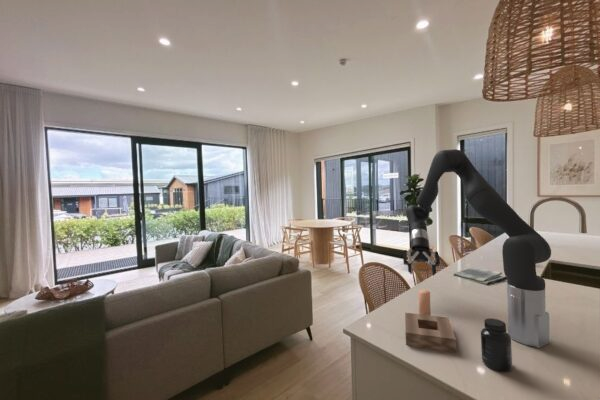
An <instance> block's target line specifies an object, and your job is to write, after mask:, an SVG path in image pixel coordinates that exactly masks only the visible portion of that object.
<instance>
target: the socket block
mask: <svg viewBox="0 0 600 400" xmlns="http://www.w3.org/2000/svg"><path fill="white" fill-rule="evenodd" d="M404 314H405V316H404V318H405V319H404V320H405V324H404V325H405V345H407V346H412V347H420V348H425V349H433V350H439V351H446V352H451V353H457V339H456V336H455V332H454V330H453V327H452V325H451V322H450V318H449V316H448V317H447V316H438V315H432V314H431V315H422V314H419V313H411V312H405V313H404Z"/></svg>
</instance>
